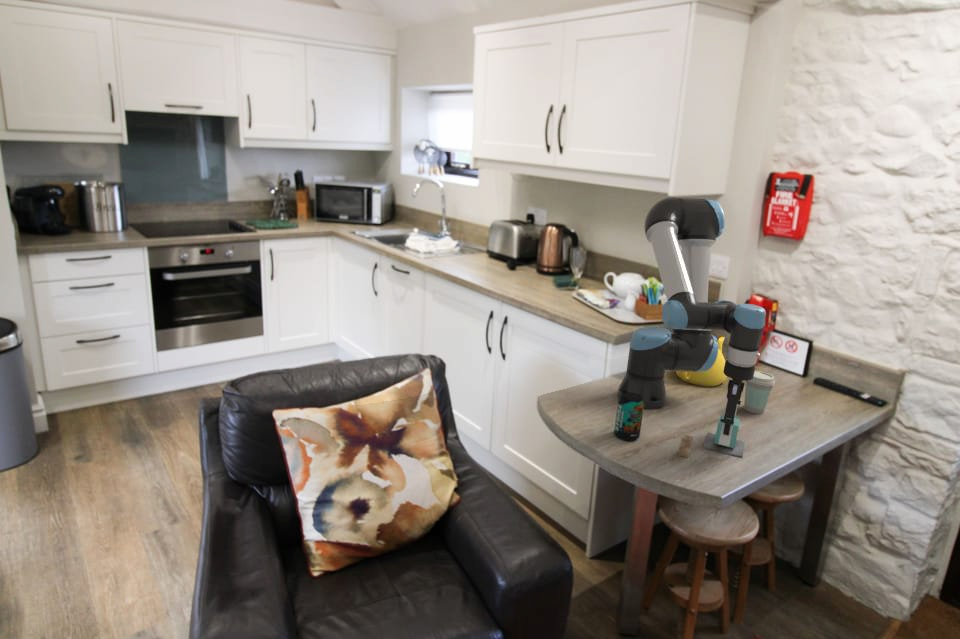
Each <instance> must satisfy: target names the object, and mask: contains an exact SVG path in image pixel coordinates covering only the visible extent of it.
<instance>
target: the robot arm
mask: <svg viewBox="0 0 960 639" xmlns="http://www.w3.org/2000/svg"><path fill="white" fill-rule="evenodd" d="M725 221H726V220H725V213H724V210H723V207H722V206H721V204H720V203H719V202H718V201H716V200H714V199H713V200H712V199H705V198H693V197H692V198H690V197H688V198H687V197H674V196H672V197H671V196H670V197H665V198H663V199H661V200H659V201H657V202H656V203H655V204H653V206H652V207H651V208H650V209H649V211H648V212H647V214H646V217H645V220H644V234H645V238H646V241H648V242H649V243H651V246H652V247H651V248H652V249H653V253H654V257H655V260H656V265H657V267H658V272H659V276H660V280H661V283H662V286H663V289H664V293H665V296H666V297H665V298H666V300H667V301H665V303H664V304H663V306H662V309H661V314H662V316H661V319H662V322H663V325H664V326H665V327H666V328H665V327H663V326H662V327H661V326H660V327H658V326H643V327H639V328H637V329H636V330H634V331H633V333H632V335H631V340H630V342H629V350H628V351H629V352H628V356H627V357H628V359H627V364H626V373H625V374H624V377H623V378H622V381H621V383H620V384H619V387H618V389H617V395H616V396H617V398H618V400H619V399H620V398H621V397H622V396H621V395H622V394H623V393H627V392H630V393H636V394H638V395H640V396H642V397H643V402H644V409H645V410H647V409H648V410H650V409H651V410H654V409H660V408H663V407H665V405H666V402H667V392H666V387H665V380H664V379H665V372H666V371H675V372H676V371H692V372H697V371H707V370H709V369H710V368H711V367H712V366H713V365H714V363H715V361H716V359H717V355H718V343H717V341H718V339H717V337H716V336H715V335H713V334H712V331H724V332H726V333H728V334H729V342H728V345H727V351H726V355H725V366H724V371H723V372H724V374H725V375H726V376H727V378H730V379H728V384H727V394H726V399H727V402H726V407H725V411H724V414H723V415H724V419H721V420H720V422H723V423H722V428H721V433H720V438H719V443H718V444H721V445H725V446H729V445H730V440H731V435H732V430H733V425H734V418H736V416H737V411H738V406H741V402H742V401H741V398H742V393H743V392H744V388H745V385H746V381H748V380H751V379H753V377H754V372H755V371H756V366H755V365H756V364H757V361H758V360H757V359H758V358H760V357H761V354H760V353H759V349H760V347H761V342H762V337H763V333H764V329H765V325H766V316H767V312H766V309H765V308H763V307H762V306H759V305H756V304H753V303H751V304H750V303H740V304H736V303H735V302H733V301H729V300H727V299H718V300H716V301H715V302H709V301H708V300H709V283H710V282H709V279H710V264H711V263H710V262H711V260H710V259H711V258H710V256H711V248H712V246H714V245H715V244H716V240H717V239H718V238H719V237H720V236H721V235H722V234H723V232H724V230H723V229H725V224H726V223H725ZM667 328H670V329H671V328H672V333H671V331H670V329H667ZM743 381H745V382H743ZM727 418H729V419H727Z"/></svg>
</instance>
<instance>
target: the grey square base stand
mask: <svg viewBox="0 0 960 639" xmlns="http://www.w3.org/2000/svg"><path fill="white" fill-rule="evenodd" d="M715 437H716V433H711V432H707V435H706V437H705V440H704V444H703V446H702V449H707V450H710V451H714V452H717V453H723V454H726V455H729V456H730V455H731V456H734V457H737V458H743V456H744V449H745V440H741V439H736V442H735V447H734V448H730V447H727V446H723V445H719V444H715V443H714V442H715Z"/></svg>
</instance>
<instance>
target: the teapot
mask: <svg viewBox="0 0 960 639" xmlns="http://www.w3.org/2000/svg"><path fill="white" fill-rule="evenodd" d="M725 338H726V337H725V336H721V337H719V338H718V339H717V343H718V355H717V359H716V361H715V363H714V365H713V366H712V367H711V368H710V369H709V370H707V371H697V372H692V371H675V373H676V375H677V376H678V378H679V379H681V380H682V381H684V382H686V383H689V384H692V385H695V386H701V387H716V386H717V387H718V386H719V385H721V384H722V383H725V381H726V380H727V378H728V377H727V376H726V375H725V374H724V372H723V371H724V366H725V361H726V358H725V357H724V354H723V344H724V341H725Z"/></svg>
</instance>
